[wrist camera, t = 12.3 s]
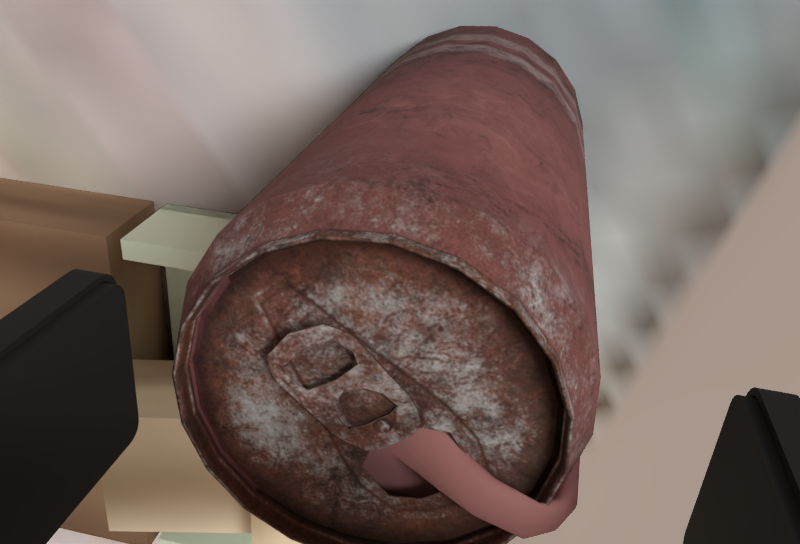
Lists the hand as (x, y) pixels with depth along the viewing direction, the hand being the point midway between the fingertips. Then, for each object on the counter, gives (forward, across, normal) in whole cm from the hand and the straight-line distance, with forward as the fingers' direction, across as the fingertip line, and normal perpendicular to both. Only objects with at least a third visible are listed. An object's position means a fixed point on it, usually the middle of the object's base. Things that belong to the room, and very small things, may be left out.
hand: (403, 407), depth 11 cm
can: (+13, 0, -1) cm, 13 cm away
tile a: (+10, +9, +10) cm, 17 cm away
